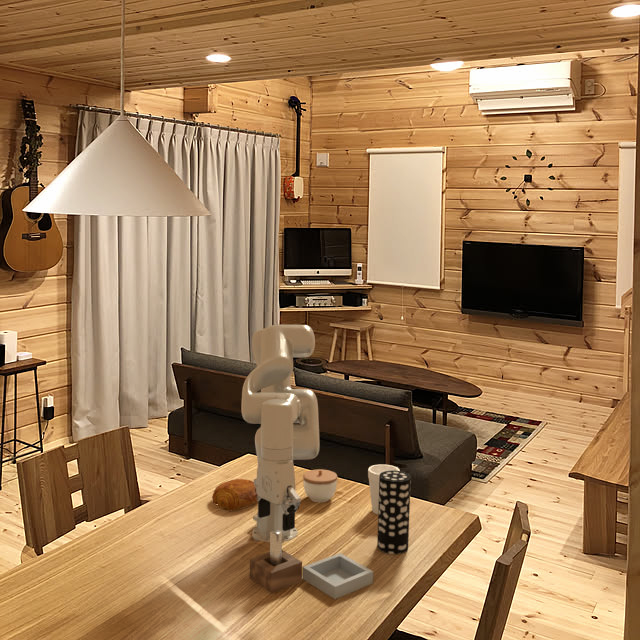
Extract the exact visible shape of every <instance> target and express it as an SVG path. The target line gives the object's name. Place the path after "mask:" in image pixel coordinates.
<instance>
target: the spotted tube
mask: <svg viewBox="0 0 640 640" xmlns="http://www.w3.org/2000/svg"><path fill="white" fill-rule="evenodd" d="M411 477H412V476H411V474H410V473H407V472H404V471H401V470H400V471H384V472H382V473H380V475H379V507H378V514H377V542H376V543H377V544H376V547H377V549H378V550H379V551H380V552H382V553H385V554H389V555H400V554H404V553H406V552H407V551H408V550H409V535H410V513H411V512H410V508H411V504H410V503H411V483H412V481H411V480H412V479H411Z"/></svg>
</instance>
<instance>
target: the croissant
mask: <svg viewBox="0 0 640 640" xmlns="http://www.w3.org/2000/svg"><path fill="white" fill-rule="evenodd" d="M212 503H213V504H214V503H215V504H218V505H217V506H218V507H219V508H221V509H223V510H226V511H227V510H229V511H228V512H233V510H234V511H238V510H242V509H243V508H248V507H249V506H251V504H252V505H254V504H256V503H258V500H257V494H256V491H255V485H254V480H251V479H246V478H245V479H244V478H235V479H230V480H228V481H225V482H222V483H220V484H219V485H218V486H216V487H215V489H214V490H213V493H212ZM215 504H214V505H215ZM231 510H232V511H231Z"/></svg>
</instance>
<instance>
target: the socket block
mask: <svg viewBox="0 0 640 640" xmlns="http://www.w3.org/2000/svg"><path fill="white" fill-rule="evenodd" d="M249 579H250V580H251V581H253V583H255V584H257V585H258V586H260V587H261V588H263V589H264V590H265V591H267V592H268V593H270V594H271V595H272V594H275V593H277V592H279V591H282V590H284V589H287V588H290V587H292V586H295V585H297V584H300V583H302V582H303V561H301V560H300V559H298V558H297V557H295V556H294V555H291V554H290V553H288V552H287V551H285V550H284V549H282V564H279V565H276V566H272V565H271V564H270V551H268V552H264V553H262V554H259V555H256V556H253V557H251V558H249Z"/></svg>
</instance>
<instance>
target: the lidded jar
mask: <svg viewBox="0 0 640 640" xmlns="http://www.w3.org/2000/svg"><path fill="white" fill-rule="evenodd" d="M302 478H303V489H304V492H305V494H306V496H307V497H308V498H309V499H310V500H311V502H314V503H326V502H328V501H330V499H331V498H332V497H333V496H334V494H335V492H336V490H337V483H338V475H337V473H336V472H335V471H332V470H328V469H311V470H307V471H305V472H304V473H303V475H302Z"/></svg>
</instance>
